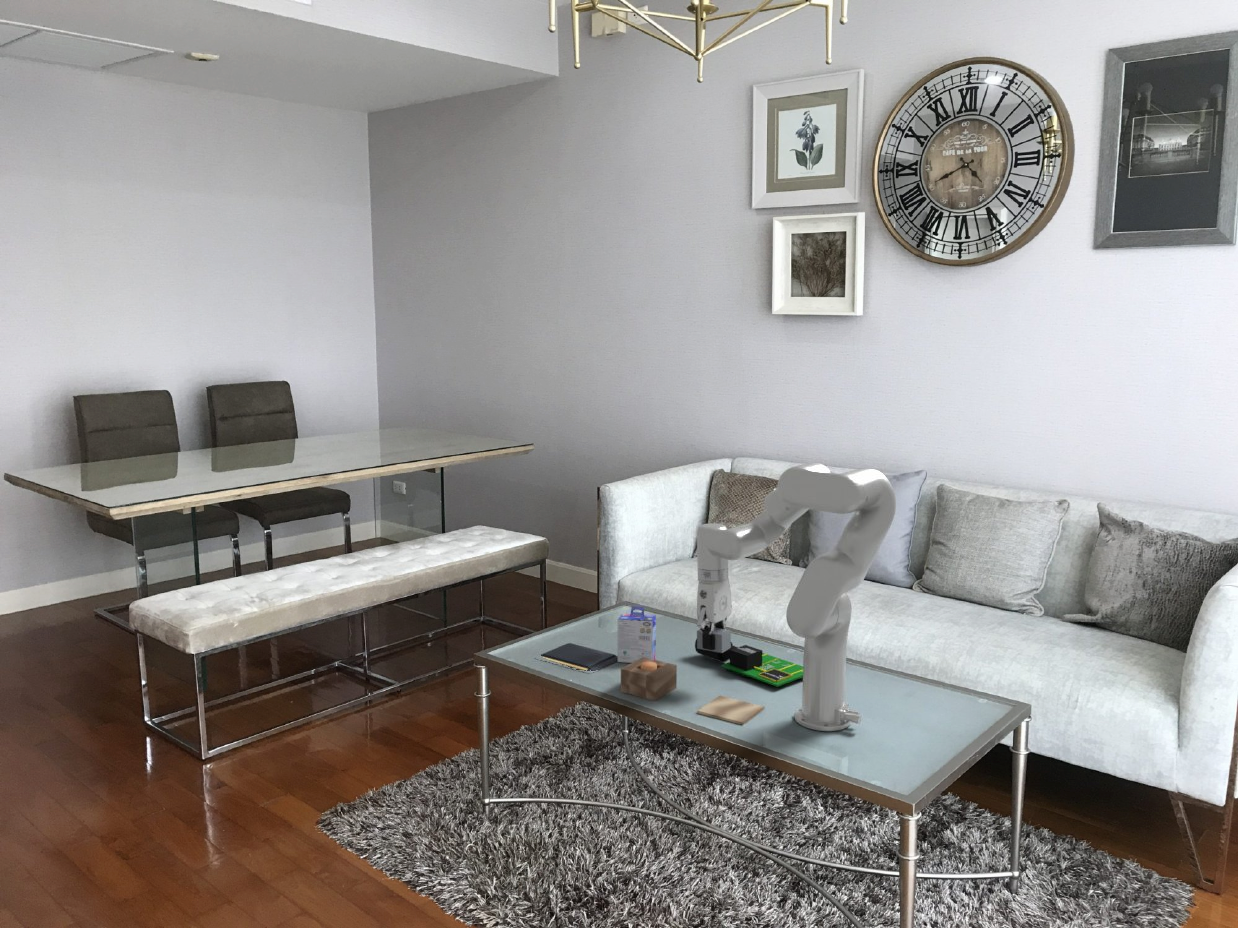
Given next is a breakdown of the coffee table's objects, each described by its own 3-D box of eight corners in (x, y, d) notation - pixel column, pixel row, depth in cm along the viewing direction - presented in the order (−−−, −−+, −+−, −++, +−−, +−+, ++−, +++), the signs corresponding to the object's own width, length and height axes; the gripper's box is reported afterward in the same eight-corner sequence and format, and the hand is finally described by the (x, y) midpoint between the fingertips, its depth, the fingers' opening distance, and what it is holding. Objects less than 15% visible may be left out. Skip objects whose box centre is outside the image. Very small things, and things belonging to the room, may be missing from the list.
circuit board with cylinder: (816, 651, 252) (777, 664, 242) (815, 676, 253) (777, 691, 243) (729, 623, 274) (691, 635, 264) (729, 647, 275) (691, 659, 265)
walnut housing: (676, 687, 245) (676, 664, 244) (655, 700, 237) (655, 677, 236) (642, 679, 251) (643, 657, 250) (620, 691, 242) (620, 668, 242)
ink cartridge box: (656, 658, 266) (657, 606, 264) (653, 665, 261) (653, 612, 259) (621, 655, 268) (621, 604, 266) (617, 662, 263) (617, 610, 261)
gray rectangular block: (730, 647, 243) (730, 630, 242) (722, 652, 239) (721, 634, 239) (706, 643, 247) (705, 626, 246) (697, 648, 243) (696, 630, 243)
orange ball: (659, 679, 244) (660, 663, 243) (651, 683, 241) (651, 668, 240) (646, 675, 246) (646, 660, 245) (637, 680, 243) (637, 665, 242)
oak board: (764, 708, 232) (764, 706, 232) (742, 724, 223) (743, 722, 223) (719, 697, 239) (719, 695, 239) (697, 712, 230) (697, 710, 230)
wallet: (624, 654, 266) (588, 670, 254) (624, 661, 266) (588, 677, 254) (569, 639, 278) (532, 653, 266) (569, 645, 278) (532, 660, 266)
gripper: (709, 583, 232) (710, 658, 234) (742, 568, 245) (743, 639, 248) (682, 579, 236) (683, 653, 238) (716, 565, 250) (717, 634, 252)
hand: (713, 645), depth 243 cm, fingers closed on gray rectangular block, 4 cm apart
